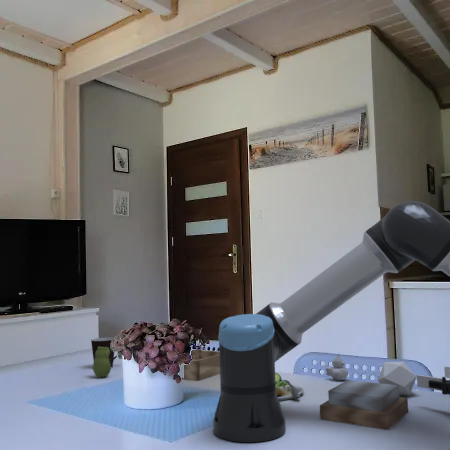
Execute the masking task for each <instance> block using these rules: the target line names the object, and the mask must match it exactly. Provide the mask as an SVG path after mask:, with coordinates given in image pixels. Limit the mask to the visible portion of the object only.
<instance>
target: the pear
mask: <svg viewBox="0 0 450 450" xmlns="http://www.w3.org/2000/svg"><path fill="white" fill-rule="evenodd" d="M109 354H110V350H109V348H108V347H97V351H96V353H95V360H93V364H92V369H93V373H94V375H95V376H96V377H97V378H106V377H107V376H109V375H110V373H111V370H112V368H111V365H110V362H109V359H108V356H109Z"/></svg>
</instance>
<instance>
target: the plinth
mask: <svg viewBox="0 0 450 450" xmlns="http://www.w3.org/2000/svg"><path fill="white" fill-rule="evenodd" d="M327 391H328V394H327V395H328V400H326V401H324V402H322V403H321V404H320V405H319V415H320V416H319V417H320V420H324V421H330V422H337V423H343V424H350V425H353V426H354V425H355V426H362V427H368V428H373V429H380V430H385V431H389V430H390V429H391V428H393V426H395V425H396V424H397V423H398V422H399V421H400V420H401V419H402V418H403V417H405V415H407V413H408V412H409V404H408V403H409V400H408V397H402V396H399V391H398V385H389V384H380V383H379V382H378V383H377V382H371V381H369V382H368V381H362V380H361V381H360V380H352V379H351V380H349V379H348V380H345V381H344V382H342V383H340V384H338V385H336V386H335V387H333V388H330V389H329V390H327Z"/></svg>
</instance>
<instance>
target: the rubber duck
mask: <svg viewBox="0 0 450 450" xmlns="http://www.w3.org/2000/svg"><path fill="white" fill-rule="evenodd" d="M331 363H332V364H331V365H332V366H325V371H326V376H328V377H330V376H331V378H332V379H333V380H335V381H341V382H342V381H344V380H346V378H347V377H348V376H349V370H348V369H347V368H345V367H344V366H345V364H346V362H345V361H344V360H343V358H342V357H341V356H340V353H338V355H337V356H336V357H335V358H333V360H332V362H331Z"/></svg>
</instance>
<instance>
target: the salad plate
mask: <svg viewBox="0 0 450 450" xmlns="http://www.w3.org/2000/svg"><path fill="white" fill-rule="evenodd" d="M275 383H276V394H277V397H278V400H279V403H280V402H284V401H290V400H295V399H297V398H300V397H301V395H302V394H303V393H304V390H305V389H304V388H303V387H300V386H297V385H293V384H291V382H290V381H289V380H287V379H282V376H281V375H280V374H279V373H278V372H275Z"/></svg>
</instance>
